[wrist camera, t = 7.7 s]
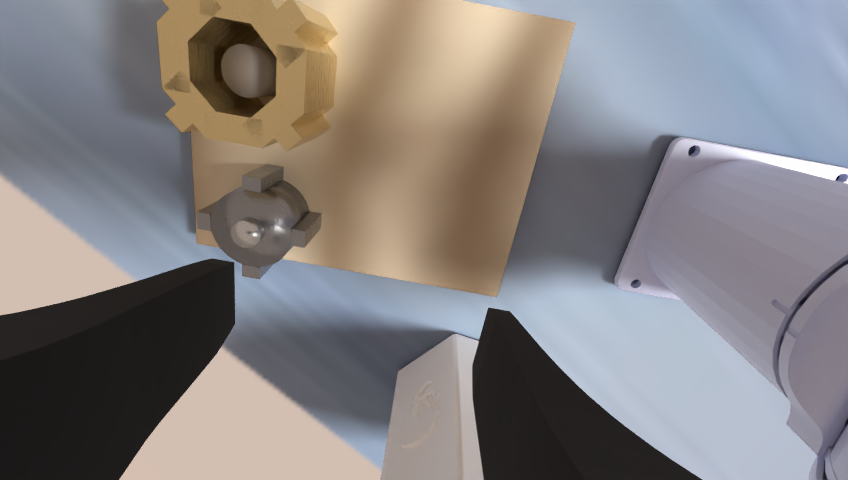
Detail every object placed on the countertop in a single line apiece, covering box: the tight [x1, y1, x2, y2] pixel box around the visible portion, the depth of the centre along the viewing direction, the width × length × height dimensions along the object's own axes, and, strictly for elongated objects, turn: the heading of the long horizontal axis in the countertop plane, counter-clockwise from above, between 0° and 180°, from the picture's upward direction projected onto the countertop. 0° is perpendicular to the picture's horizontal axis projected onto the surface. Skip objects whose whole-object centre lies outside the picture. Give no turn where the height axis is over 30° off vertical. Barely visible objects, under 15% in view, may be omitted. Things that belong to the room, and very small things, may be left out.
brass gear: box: [157, 0, 338, 151], centre depth 15 cm, size 5×5×4 cm
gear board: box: [191, 0, 575, 297], centre depth 17 cm, size 16×13×4 cm
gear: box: [196, 164, 322, 279], centre depth 18 cm, size 5×5×3 cm
